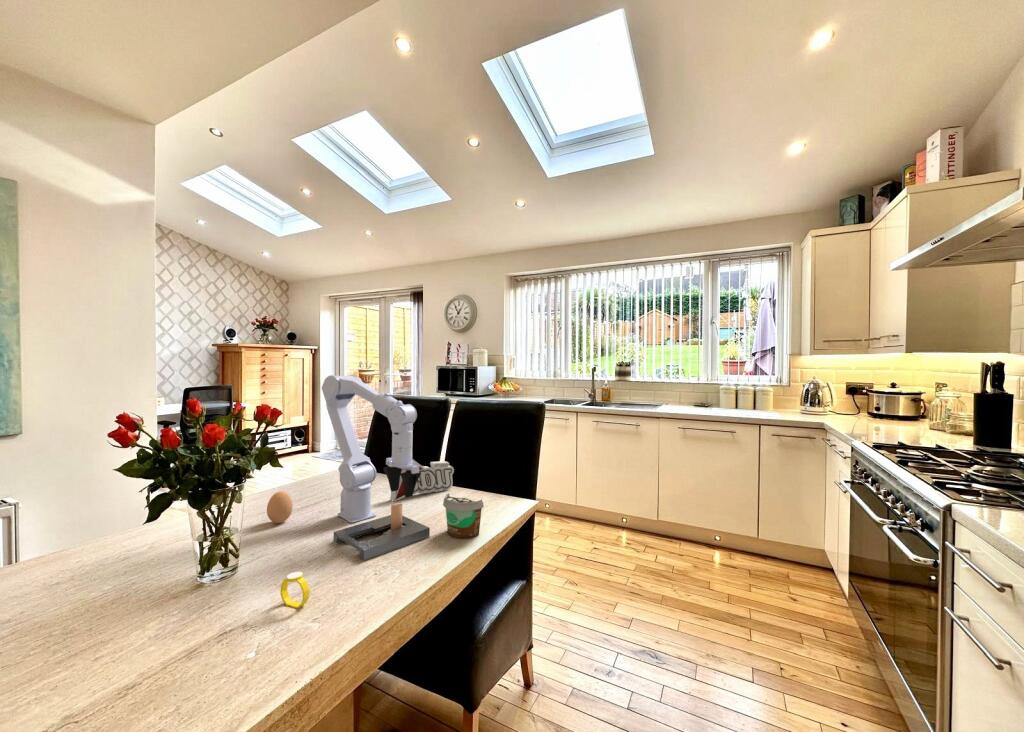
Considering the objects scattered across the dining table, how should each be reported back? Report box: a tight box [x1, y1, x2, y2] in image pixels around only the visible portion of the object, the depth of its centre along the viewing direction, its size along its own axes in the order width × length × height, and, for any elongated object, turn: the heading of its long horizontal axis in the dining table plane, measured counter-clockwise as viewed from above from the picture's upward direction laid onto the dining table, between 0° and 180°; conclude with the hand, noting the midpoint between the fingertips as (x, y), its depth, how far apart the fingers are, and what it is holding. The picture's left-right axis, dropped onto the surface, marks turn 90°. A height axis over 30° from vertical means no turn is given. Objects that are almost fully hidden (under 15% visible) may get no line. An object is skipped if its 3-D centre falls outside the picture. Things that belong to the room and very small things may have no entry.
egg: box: [266, 490, 294, 524], centre depth 120 cm, size 7×7×9 cm
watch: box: [279, 571, 310, 609], centre depth 79 cm, size 6×3×6 cm, turn 71°
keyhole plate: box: [333, 514, 431, 562], centre depth 110 cm, size 16×19×2 cm
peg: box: [387, 503, 403, 531], centre depth 113 cm, size 5×5×8 cm
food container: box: [442, 492, 485, 540], centre depth 113 cm, size 12×6×10 cm, turn 62°
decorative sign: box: [389, 458, 455, 502], centre depth 149 cm, size 23×3×15 cm, turn 130°
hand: (401, 493), depth 119 cm, fingers open, 7 cm apart
